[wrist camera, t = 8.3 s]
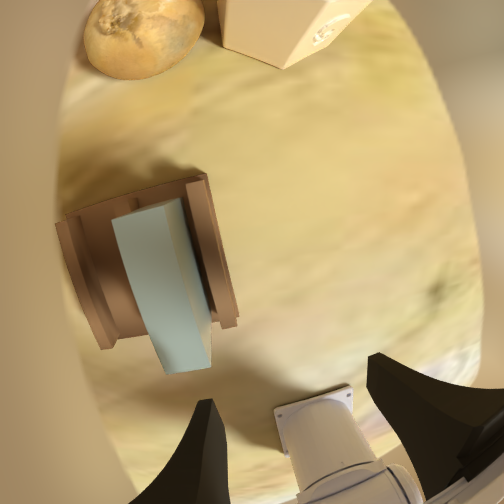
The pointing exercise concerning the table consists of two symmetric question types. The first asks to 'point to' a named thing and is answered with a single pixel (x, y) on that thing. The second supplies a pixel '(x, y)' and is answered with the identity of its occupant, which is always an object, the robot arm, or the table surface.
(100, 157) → the table surface
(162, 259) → the pale green prism
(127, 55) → the onion
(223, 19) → the jar
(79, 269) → the rack
